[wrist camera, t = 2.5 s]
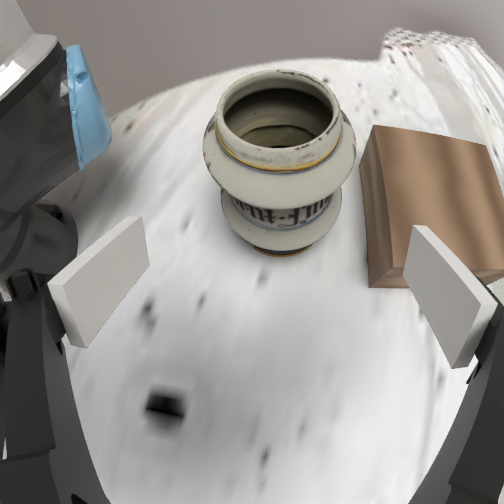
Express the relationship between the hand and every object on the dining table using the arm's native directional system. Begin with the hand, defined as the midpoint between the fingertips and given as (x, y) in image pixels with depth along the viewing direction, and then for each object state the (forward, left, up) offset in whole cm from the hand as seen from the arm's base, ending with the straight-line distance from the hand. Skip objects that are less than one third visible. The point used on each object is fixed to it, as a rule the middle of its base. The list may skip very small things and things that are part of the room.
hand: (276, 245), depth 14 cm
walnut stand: (+18, +11, -19) cm, 28 cm away
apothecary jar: (0, +11, -19) cm, 22 cm away
